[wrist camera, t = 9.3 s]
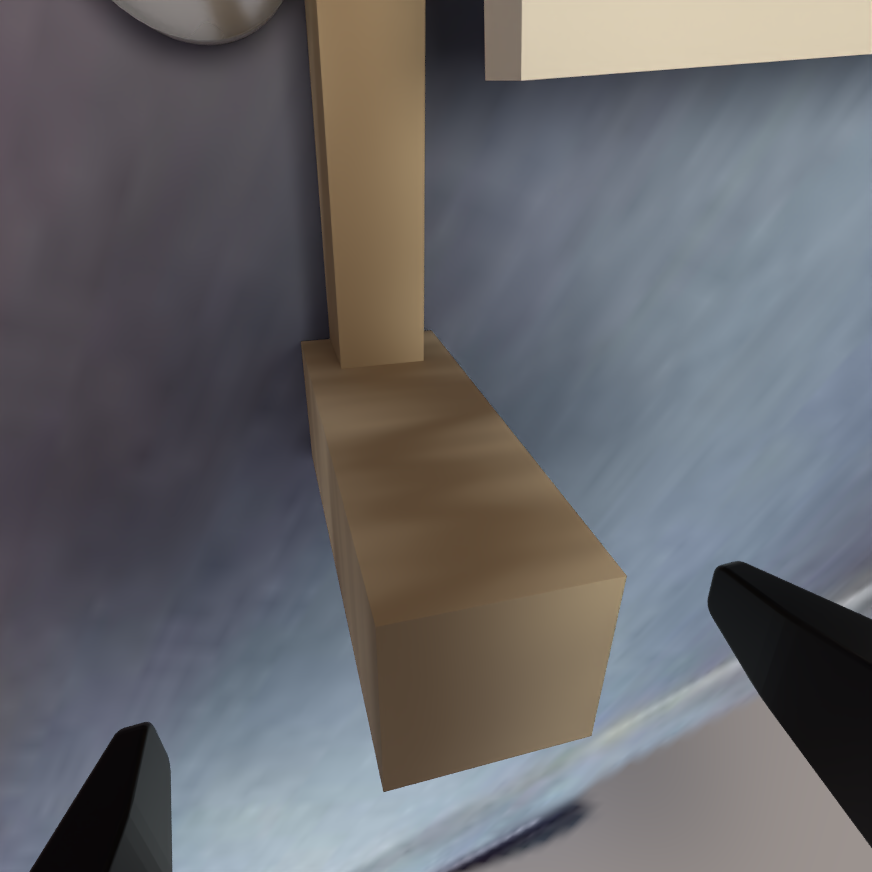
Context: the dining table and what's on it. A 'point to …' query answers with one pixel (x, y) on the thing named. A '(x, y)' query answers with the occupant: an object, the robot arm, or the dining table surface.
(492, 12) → the miniature cream chair
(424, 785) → the dining table surface
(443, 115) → the dining table surface
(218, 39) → the token
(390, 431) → the tan block with post
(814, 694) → the robot arm
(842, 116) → the dining table surface
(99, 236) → the dining table surface
